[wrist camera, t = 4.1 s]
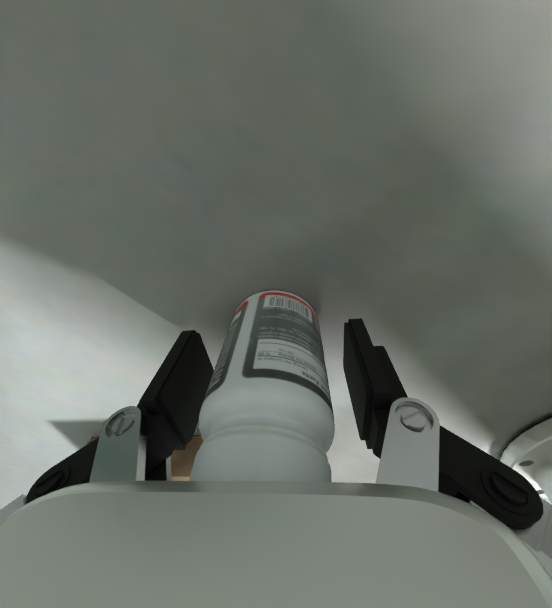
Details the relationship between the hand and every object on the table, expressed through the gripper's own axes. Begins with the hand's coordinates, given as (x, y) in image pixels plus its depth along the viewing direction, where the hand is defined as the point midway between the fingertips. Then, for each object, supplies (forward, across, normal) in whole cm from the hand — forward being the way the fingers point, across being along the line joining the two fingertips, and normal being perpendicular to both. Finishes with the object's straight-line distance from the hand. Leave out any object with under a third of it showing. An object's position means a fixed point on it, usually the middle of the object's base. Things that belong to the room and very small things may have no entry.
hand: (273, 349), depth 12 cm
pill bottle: (+2, 0, 0) cm, 2 cm away
